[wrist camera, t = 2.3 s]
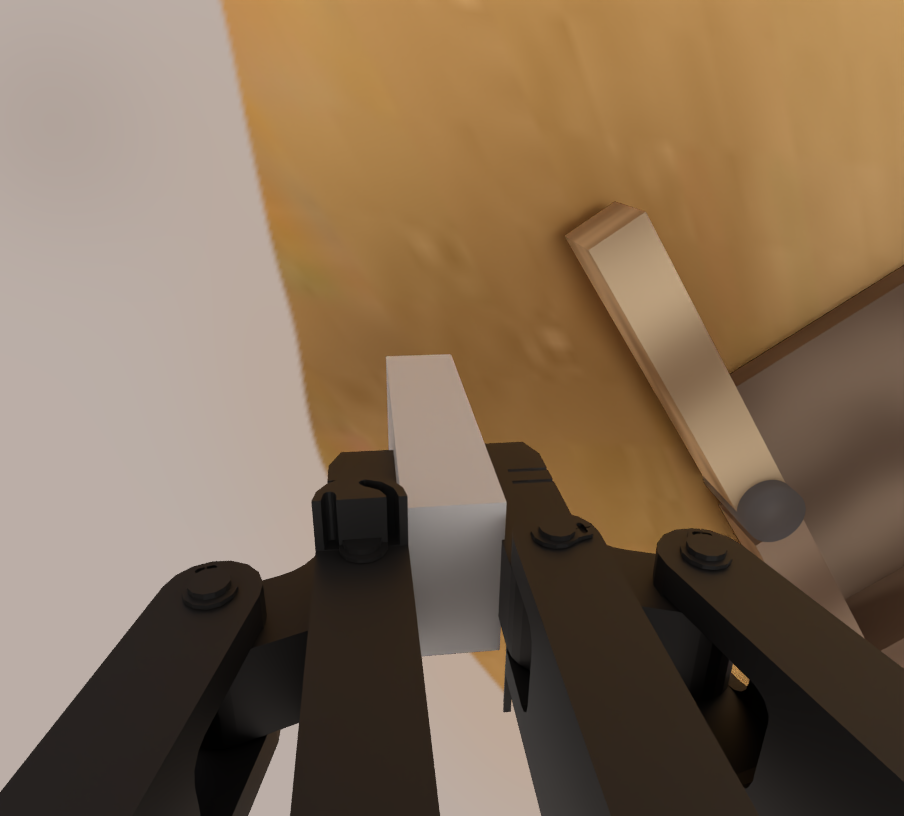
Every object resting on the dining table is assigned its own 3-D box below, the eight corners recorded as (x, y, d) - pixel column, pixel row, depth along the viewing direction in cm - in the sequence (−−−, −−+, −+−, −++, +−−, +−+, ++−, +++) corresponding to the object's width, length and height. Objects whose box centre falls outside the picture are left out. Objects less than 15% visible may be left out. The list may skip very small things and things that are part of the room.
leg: (762, 474, 28) (814, 521, 25) (715, 503, 28) (760, 552, 25) (617, 199, 23) (657, 212, 20) (561, 237, 23) (592, 256, 20)
